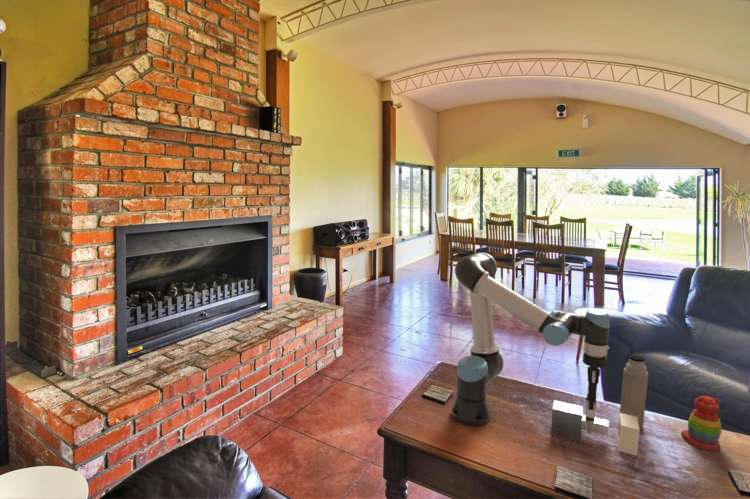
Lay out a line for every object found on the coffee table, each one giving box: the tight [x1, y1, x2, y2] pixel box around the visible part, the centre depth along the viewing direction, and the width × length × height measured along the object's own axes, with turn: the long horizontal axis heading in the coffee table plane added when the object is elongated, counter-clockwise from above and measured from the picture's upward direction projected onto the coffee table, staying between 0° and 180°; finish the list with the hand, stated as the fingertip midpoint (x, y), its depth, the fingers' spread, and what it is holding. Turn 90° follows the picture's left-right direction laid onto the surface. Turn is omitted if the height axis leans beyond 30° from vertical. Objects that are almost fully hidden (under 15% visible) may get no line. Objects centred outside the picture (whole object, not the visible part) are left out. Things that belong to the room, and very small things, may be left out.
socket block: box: [616, 412, 641, 456], centre depth 147 cm, size 6×9×10 cm, turn 152°
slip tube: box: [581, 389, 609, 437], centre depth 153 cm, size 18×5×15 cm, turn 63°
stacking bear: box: [680, 395, 722, 452], centre depth 149 cm, size 11×10×18 cm
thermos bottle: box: [619, 354, 649, 432], centre depth 159 cm, size 8×8×28 cm
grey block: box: [550, 399, 584, 441], centre depth 156 cm, size 10×7×10 cm
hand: (590, 414), depth 152 cm, fingers closed on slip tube, 3 cm apart
